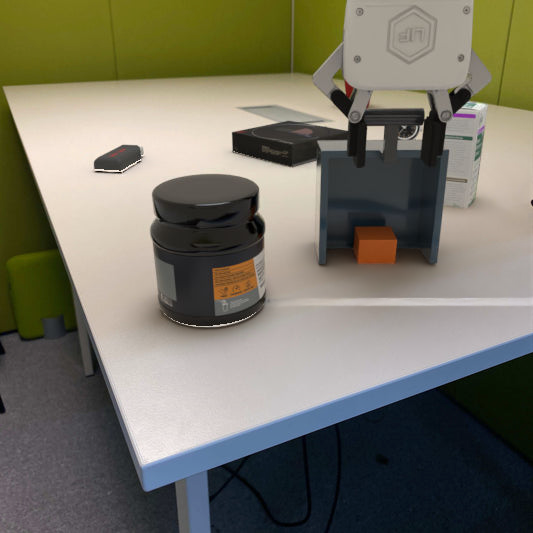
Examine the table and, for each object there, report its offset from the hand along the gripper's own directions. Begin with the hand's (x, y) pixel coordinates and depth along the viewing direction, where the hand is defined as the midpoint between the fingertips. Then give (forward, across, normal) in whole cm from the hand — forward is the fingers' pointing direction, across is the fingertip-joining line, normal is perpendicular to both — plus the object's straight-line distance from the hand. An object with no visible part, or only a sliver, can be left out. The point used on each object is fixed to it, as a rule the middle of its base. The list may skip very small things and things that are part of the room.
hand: (393, 162), depth 50 cm
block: (+9, 0, +6) cm, 11 cm away
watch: (+14, +10, +42) cm, 45 cm away
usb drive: (+14, -40, +51) cm, 66 cm away
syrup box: (+14, +14, +25) cm, 32 cm away
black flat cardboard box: (+14, -8, +60) cm, 62 cm away
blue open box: (+5, 0, +11) cm, 12 cm away
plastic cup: (+14, +11, +111) cm, 113 cm away
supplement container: (+14, -17, -3) cm, 22 cm away
